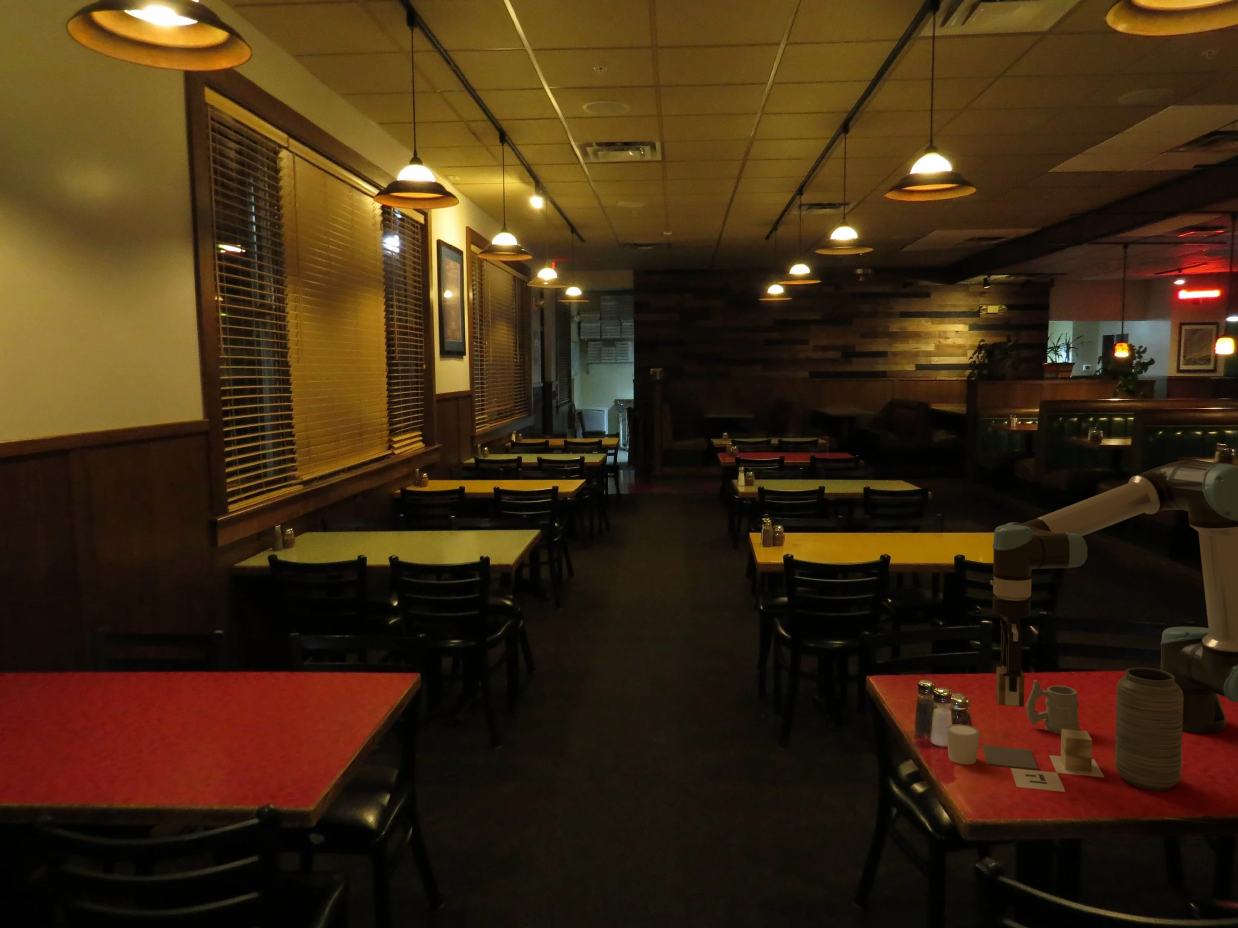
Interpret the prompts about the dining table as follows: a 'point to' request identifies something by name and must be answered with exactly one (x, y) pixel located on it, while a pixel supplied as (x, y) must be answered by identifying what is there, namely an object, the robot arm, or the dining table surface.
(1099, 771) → the maple tile
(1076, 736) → the maple block
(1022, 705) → the walnut block
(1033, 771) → the white marker tile
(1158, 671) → the vase
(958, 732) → the beige short cylinder
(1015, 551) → the robot arm
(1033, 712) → the mug
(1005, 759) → the slate coaster
